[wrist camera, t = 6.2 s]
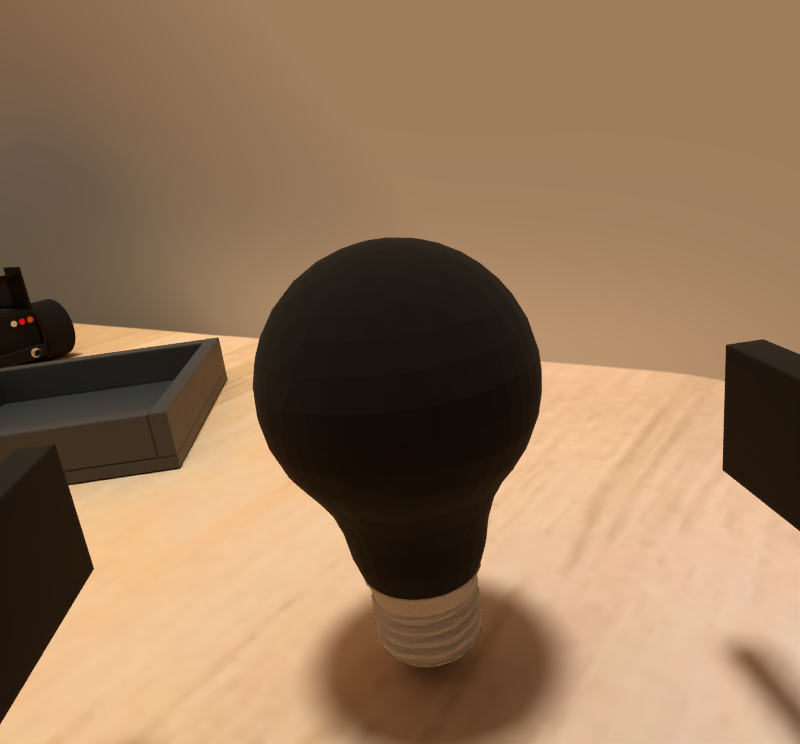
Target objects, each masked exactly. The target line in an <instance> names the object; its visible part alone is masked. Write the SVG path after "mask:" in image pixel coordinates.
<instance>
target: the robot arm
mask: <svg viewBox="0 0 800 744" xmlns="http://www.w3.org/2000/svg"><path fill="white" fill-rule="evenodd" d="M723 471H725V472H726V473H727V474H728V475H730V476H731V477H732V478H733V479H735V480H736V481H737V482H738V483H740V484H741V485H742V486H744V487H745V488H746V489H747V490H749V491H750V492H751V493H752V494H754V495H755V496H756V497H757V498H759V499H760V500H761V501H762V502H764V503H765V504H766V505H767V506H769V507H770V508H771V509H773V510H774V511H775V512H776V513H778V514H779V515H780V516H781V517H783V518H784V519H785V520H786V521H788V522H789V523H790V524H791V525H793V526H794V527H795V528H796V529H798V530H799V531H800V354H797V353H795V352H792V351H790V350H788V349H785V348H783V347H780V346H778V345H775V344H773V343H770V342H768V341H766V340H756V341H749V342H742V343H736V344H729V345H726V365H725V402H724V438H723ZM93 569H94V568H93V564H92V561H91V558H90V555H89V551H88V548H87V545H86V542H85V538H84V535H83V532H82V529H81V525H80V522H79V519H78V516H77V512H76V509H75V506H74V503H73V499H72V496H71V493H70V490H69V486H68V483H67V480H66V477H65V473H64V470H63V467H62V464H61V460H60V457H59V454H58V451H57V448H56V444H52V445H45V446H38V447H31V448H25V449H18V450H14V451H13V452H11V453H10V454H9V455H8V456H7V457H6V458H5V459H3V460H2V461H1V462H0V724H1V722H2V720H3V719H4V717H5V715H6V714H7V712H8V710H9V709H10V707H11V706H12V704H13V702H14V701H15V699H16V697H17V696H18V694H19V692H20V691H21V689H22V687H23V686H24V684H25V682H26V681H27V679H28V677H29V676H30V674H31V672H32V671H33V669H34V667H35V666H36V664H37V662H38V661H39V659H40V657H41V656H42V654H43V652H44V651H45V649H46V647H47V646H48V644H49V642H50V641H51V639H52V637H53V636H54V634H55V632H56V631H57V629H58V627H59V626H60V624H61V622H62V621H63V619H64V617H65V616H66V614H67V612H68V611H69V609H70V607H71V606H72V604H73V602H74V601H75V599H76V598H77V596H78V594H79V593H80V591H81V589H82V588H83V586H84V584H85V583H86V581H87V579H88V578H89V576H90V574H91V573H92V571H93Z"/></svg>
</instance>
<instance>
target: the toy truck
mask: <svg viewBox="0 0 800 744" xmlns="http://www.w3.org/2000/svg"><path fill="white" fill-rule="evenodd" d="M4 271H5V275H4V276H0V369H1V368H5V367H12V366H15V365H18V364H22V363H25V362H28V361H31V360H36V361H40V362H42V361H45V360H48V359H51V358H54V357H57V356H60V355H63V354H66V353H69V352H70V351H72V349H73V348H74V345H75V330H74V326H73V323H72V321H71V319H70V317H69V315H68V313H67V312H66V310H65V309H64V308H63V307H62V306H61V305H60V304H59V303H58V302H56V301H54V300H51V299H46V300H42V301H38V302H34V303H30V300H29V297H28V293H27V290H26V287H25V284H24V280H23V277H22V273H21V270H20V267H9V268H4Z"/></svg>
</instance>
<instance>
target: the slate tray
mask: <svg viewBox="0 0 800 744" xmlns="http://www.w3.org/2000/svg"><path fill="white" fill-rule="evenodd" d="M226 379H227V375H226V370H225V366H224V361H223V356H222V352H221V347H220V342H219V338H212V339H206V340H198V341H191V342H184V343H176V344H169V345H162V346H155V347H148V348H141V349H134V350H127V351H119V352H112V353H105V354H98V355H91V356H84V357H77V358H69V359H62V360H55V361H48V362H41V363H34V364H27V365H19V366H12V367H5V368H1V369H0V462H1V461H2V460H3V459H5V458H6V457H7V456H8V455H9V454H10V453H11V452H13V451H14V450H18V449H25V448H31V447H38V446H45V445H52V444H56V448H57V451H58V454H59V457H60V460H61V464H62V467H63V470H64V473H65V477H66V480H67V483H68V484H72V483H78V482H85V481H92V480H99V479H105V478H112V477H119V476H126V475H132V474H139V473H146V472H153V471H159V470H166V469H173V468H179V467H180V466H181V464H182V462H183V460H184V458H185V456H186V455H187V453H188V451H189V449H190V447H191V445H192V443H193V441H194V440H195V438H196V436H197V434H198V432H199V430H200V428H201V426H202V424H203V423H204V421H205V419H206V417H207V415H208V413H209V411H210V409H211V407H212V406H213V404H214V402H215V400H216V398H217V396H218V394H219V392H220V391H221V389H222V387H223V385H224V383H225V381H226Z"/></svg>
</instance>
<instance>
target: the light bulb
mask: <svg viewBox="0 0 800 744" xmlns="http://www.w3.org/2000/svg"><path fill="white" fill-rule="evenodd" d="M253 391H254V398H255V405H256V412H257V417H258V421H259V424H260V426H261V429H262V432H263V434H264V437H265V439H266V442H267V444H268V447H269V449H270V451H271V452H272V454H273V455H274V457H275V458H276V460H277V461H278V462H279V464H280V465H281V467H282V468H283V470H284V471H285V473H286V474H287V475H288V477H289V478H290V479H291V480H292V481H293V482H294V483H295V484H296V485H298V486H299V487H300V488H301V489H302V490H303V491H305V492H306V493H307V494H308V495H310V496H311V497H312V498H313V499H314V500H316V501H317V502H318V503H319V504H320V505H322V506H323V507H324V508H325V509H326V510H327V511H328V512H329V513H330V514H331V515H332V516H333V517H334V519H335V520H336V522H337V524H338V525H339V527H340V528H341V530H342V532H343V533H344V536H345V538H346V541H347V544H348V547H349V549H350V552H351V555H352V557H353V560H354V561H355V563H356V565H357V567H358V568H359V570H360V572H361V574H362V575H363V577H364V579H365V582H366V584H367V585H368V586H369V587H370V589H371V591H372V601H373V604H374V606H373V608H374V614H375V616H376V619H375V621H376V626H377V632H378V638H379V640H380V641H381V643H382V645H383V646H384V647H385V649H386V650H387V651H388V653H389V654H390V655H391V656H392V657H394V658H396V659H397V660H399V661H401V662H403V663H406V664H409V665H413V666H418V667H437V666H441V665H444V664H447V663H450V662H453V661H455V660H456V659H458V658H460V657H462V656H463V655H464V654H465V653H466V652H467V651H469V650H470V649H471V648H472V647H473V646H474V645H475V643H476V642H477V640H478V639H479V636H480V633H481V611H480V599H479V589H478V578H477V573H478V571H479V568H480V566H481V563H480V562H481V559H482V555H483V551H484V547H485V543H486V536H487V526H488V517H489V513H490V510H491V506H492V502H493V499H494V496H495V494H496V492H497V491H498V489H499V487H500V485H501V484H502V482H503V481H504V479H505V478H506V477H507V476H508V475H509V473H510V472H511V471H512V470H513V468H514V467H515V465H516V464H517V462H518V461H519V459H520V457H521V456H522V454H523V453H524V451H525V449H526V447H527V445H528V443H529V440H530V437H531V435H532V432H533V429H534V426H535V423H536V421H537V418H538V415H539V408H540V401H541V393H542V371H541V363H540V356H539V350H538V347H537V344H536V341H535V338H534V336H533V333H532V330H531V327H530V324H529V321H528V318H527V317H526V315H525V313H524V312H523V310H522V309H521V307H520V305H519V304H518V302H517V301H516V299H515V298H514V296H513V294H512V293H511V292H510V291H509V290H508V289H507V288H506V286H505V285H504V284H503V283H502V282H501V281H500V280H499V279H498V278H497V277H496V276H495V275H494V274H493V273H491V272H490V271H489V270H488V269H486V268H485V267H484V266H483V265H481V264H480V263H479V262H477V261H476V260H474V259H472V258H471V257H469V256H467V255H466V254H464V253H462V252H460V251H458V250H455V249H453V248H450V247H447V246H445V245H442V244H440V243H436V242H431V241H427V240H422V239H415V238H381V239H374V240H367V241H363V242H360V243H356V244H353V245H351V246H348V247H345V248H342V249H340V250H338V251H336V252H334V253H332V254H330V255H329V256H326V257H324V258H323V259H321V260H319V261H317V262H316V263H315V264H313V265H312V266H311V267H310V268H309V269H307V270H306V271H305V272H304V273H303V274H302V275H300V276H299V277H298V278H297V279H296V280H294V281H293V283H292V284H291V285H290V286H289V288H288V289H287V290H286V292H285V293H284V294H283V296H282V297H281V298H280V300H279V301H278V303H277V304H276V305H275V307H274V308H273V309H272V311H271V313H270V316H269V318H268V320H267V322H266V325H265V327H264V329H263V331H262V334H261V336H260V339H259V343H258V347H257V352H256V356H255V363H254V376H253Z"/></svg>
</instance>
